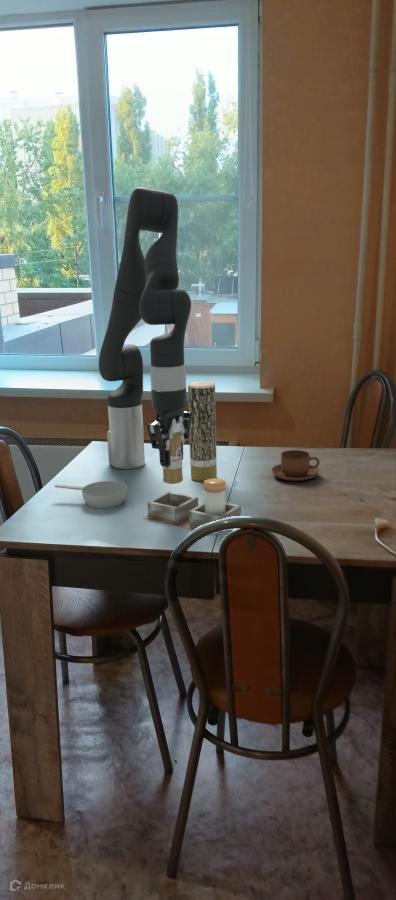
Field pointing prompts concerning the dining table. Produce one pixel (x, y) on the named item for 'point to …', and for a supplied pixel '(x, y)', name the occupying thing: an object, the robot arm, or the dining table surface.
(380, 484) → the dining table surface
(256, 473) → the dining table surface
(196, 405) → the paper tube
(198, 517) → the board
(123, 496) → the small pan
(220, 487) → the white lotion bottle
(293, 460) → the cup and saucer
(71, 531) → the dining table surface
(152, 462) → the dining table surface
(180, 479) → the sprinkles bottle
